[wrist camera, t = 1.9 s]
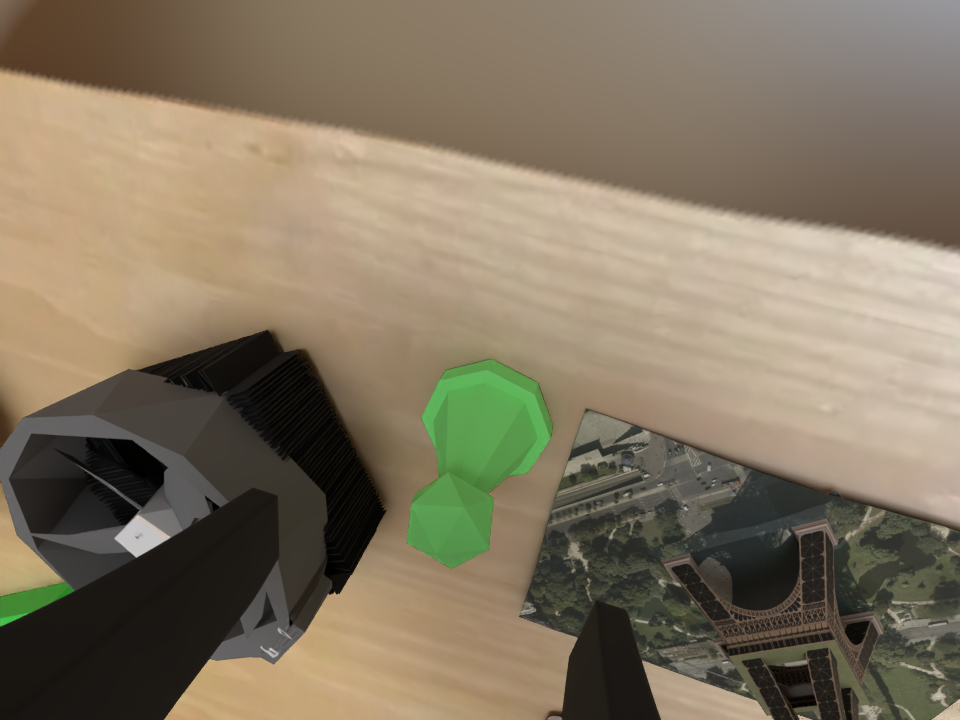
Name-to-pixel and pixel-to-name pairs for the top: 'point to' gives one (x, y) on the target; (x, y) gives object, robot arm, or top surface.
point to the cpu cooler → (197, 477)
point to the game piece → (475, 455)
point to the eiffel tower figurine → (752, 579)
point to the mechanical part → (30, 601)
